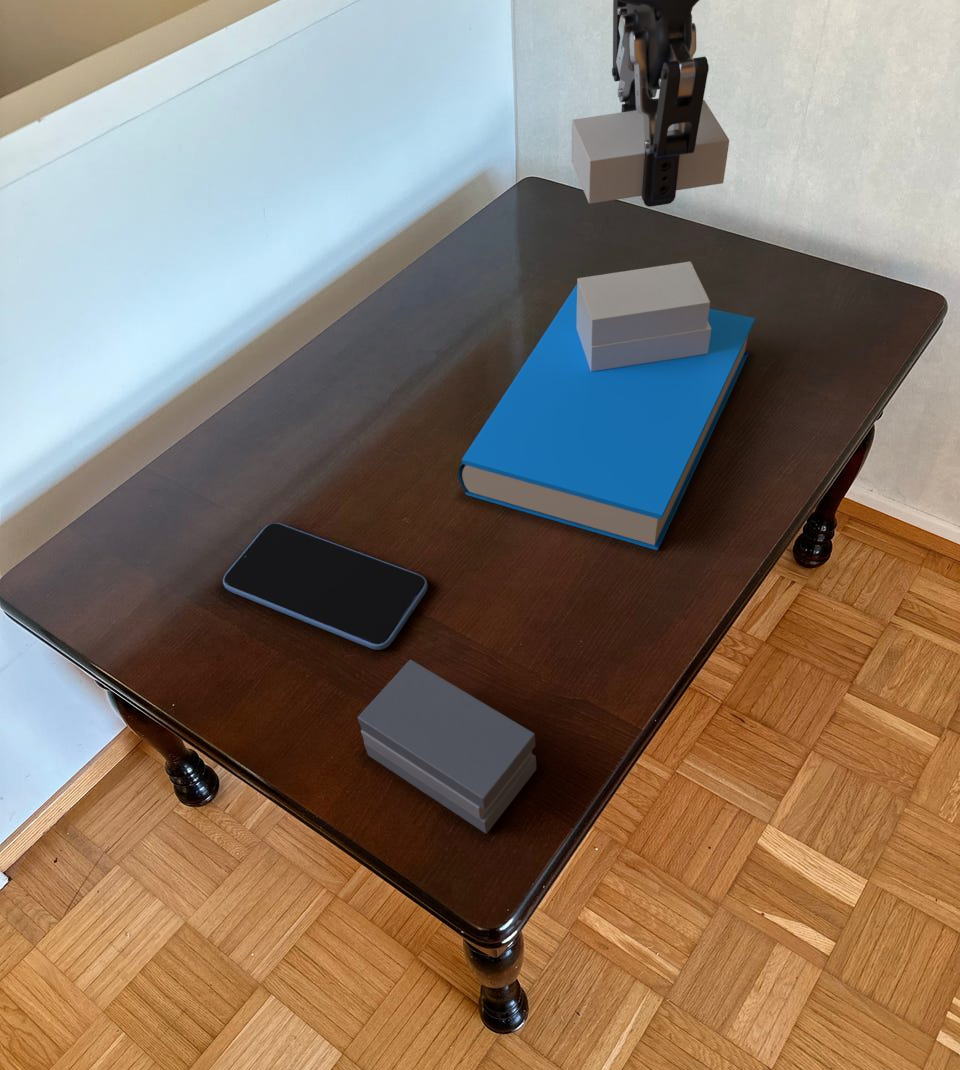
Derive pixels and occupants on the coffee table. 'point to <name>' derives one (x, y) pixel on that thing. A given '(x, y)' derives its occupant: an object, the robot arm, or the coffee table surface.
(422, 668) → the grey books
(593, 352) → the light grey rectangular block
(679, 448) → the book
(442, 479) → the coffee table surface
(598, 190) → the light grey block
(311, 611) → the smartphone
